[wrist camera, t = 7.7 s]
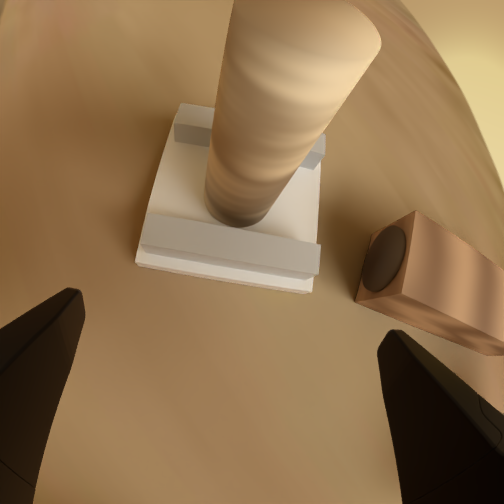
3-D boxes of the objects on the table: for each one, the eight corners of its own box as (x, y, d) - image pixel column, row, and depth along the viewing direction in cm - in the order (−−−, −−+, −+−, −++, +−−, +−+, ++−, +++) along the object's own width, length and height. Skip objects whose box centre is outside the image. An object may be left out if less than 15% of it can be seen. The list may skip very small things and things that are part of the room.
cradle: (304, 293, 19) (326, 287, 16) (138, 266, 17) (127, 253, 14) (315, 153, 21) (332, 129, 18) (176, 124, 20) (175, 94, 17)
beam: (495, 303, 22) (535, 296, 17) (487, 355, 20) (529, 354, 16) (368, 232, 20) (411, 207, 16) (350, 300, 19) (397, 291, 14)
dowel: (282, 185, 19) (389, 24, 7) (253, 240, 17) (366, 85, 6) (224, 154, 18) (273, -31, 6) (190, 206, 17) (202, 11, 5)
